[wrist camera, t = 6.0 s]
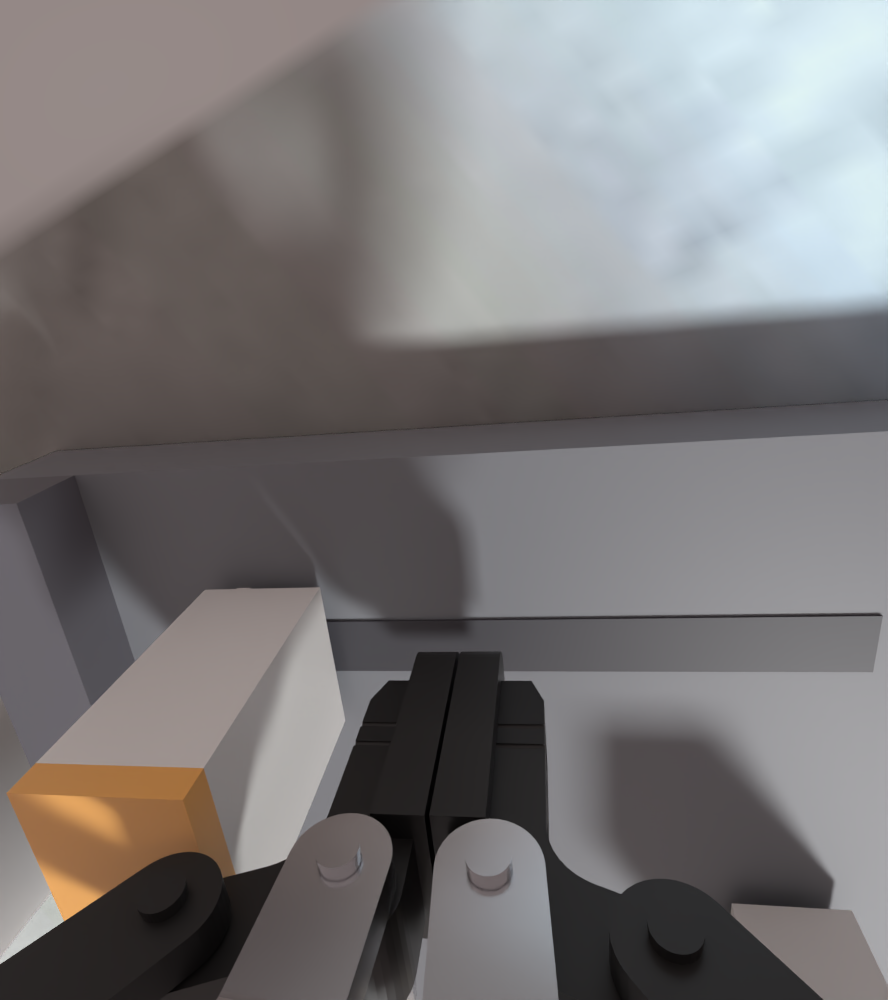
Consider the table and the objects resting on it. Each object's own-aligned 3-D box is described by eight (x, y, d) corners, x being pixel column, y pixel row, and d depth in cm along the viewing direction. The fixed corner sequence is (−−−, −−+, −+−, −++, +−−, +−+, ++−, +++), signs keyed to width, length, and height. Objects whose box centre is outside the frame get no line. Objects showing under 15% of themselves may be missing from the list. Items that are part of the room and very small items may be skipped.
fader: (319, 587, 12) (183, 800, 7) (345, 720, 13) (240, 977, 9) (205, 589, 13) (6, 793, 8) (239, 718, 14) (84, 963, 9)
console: (1166, 382, 11) (1425, 437, 8) (979, 981, 17) (1084, 1156, 14) (56, 450, 15) (-80, 507, 11) (213, 924, 20) (152, 1052, 17)
